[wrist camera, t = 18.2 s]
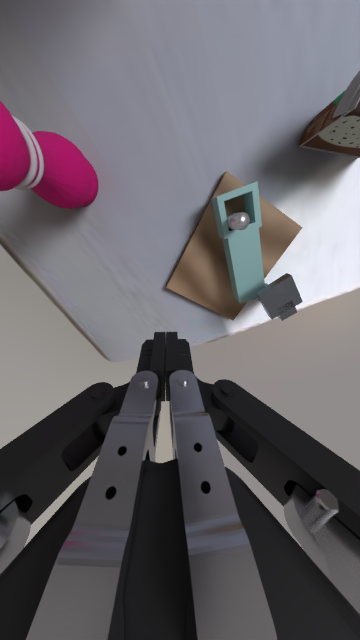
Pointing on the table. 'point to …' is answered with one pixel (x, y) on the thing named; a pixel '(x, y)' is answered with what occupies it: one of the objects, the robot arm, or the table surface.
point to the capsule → (238, 221)
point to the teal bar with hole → (242, 244)
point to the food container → (337, 125)
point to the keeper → (280, 297)
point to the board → (209, 256)
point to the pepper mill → (44, 164)
